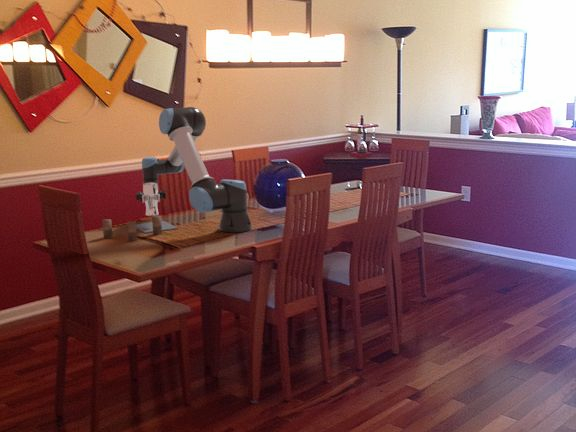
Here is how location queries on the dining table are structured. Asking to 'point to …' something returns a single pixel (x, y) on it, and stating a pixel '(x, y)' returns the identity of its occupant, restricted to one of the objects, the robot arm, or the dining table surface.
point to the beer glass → (151, 198)
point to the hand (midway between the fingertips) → (151, 199)
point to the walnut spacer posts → (131, 228)
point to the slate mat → (149, 227)
